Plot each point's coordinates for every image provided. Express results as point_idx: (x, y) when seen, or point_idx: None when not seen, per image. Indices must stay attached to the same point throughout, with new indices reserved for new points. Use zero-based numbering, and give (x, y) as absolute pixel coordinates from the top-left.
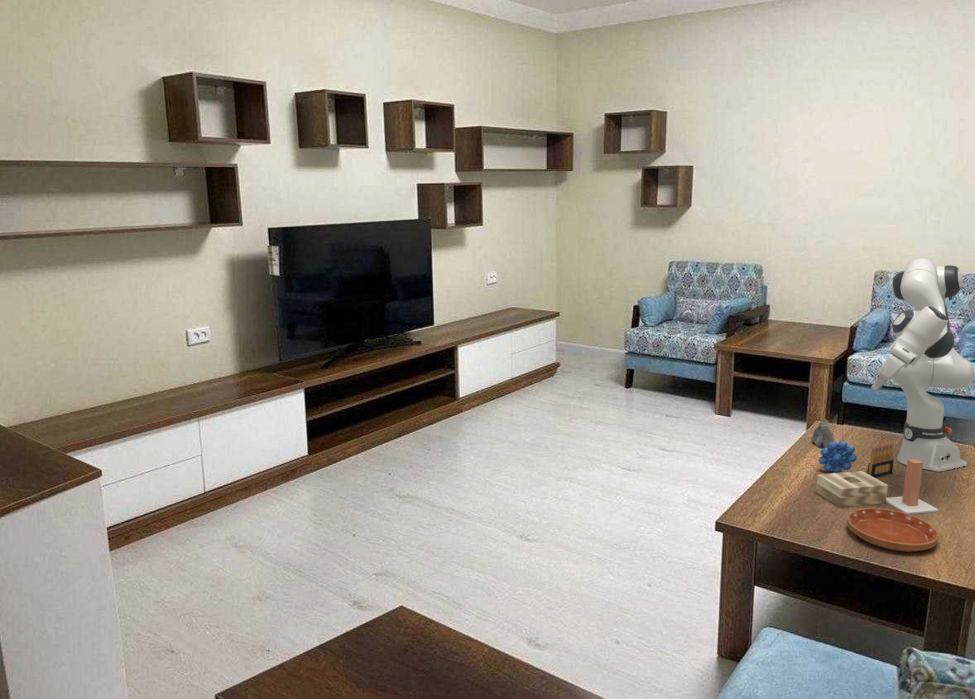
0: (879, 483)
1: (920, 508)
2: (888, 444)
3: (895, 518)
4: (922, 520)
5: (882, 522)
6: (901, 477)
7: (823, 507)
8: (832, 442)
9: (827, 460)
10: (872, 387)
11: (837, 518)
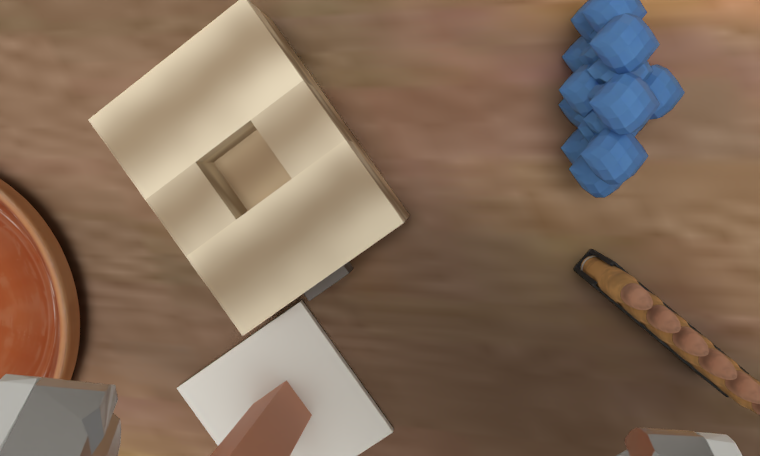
0: (248, 298)
1: None
2: (741, 392)
3: (57, 338)
4: None
5: (24, 287)
6: (653, 409)
7: (105, 61)
8: (621, 35)
9: (590, 41)
10: (5, 392)
11: (16, 119)
